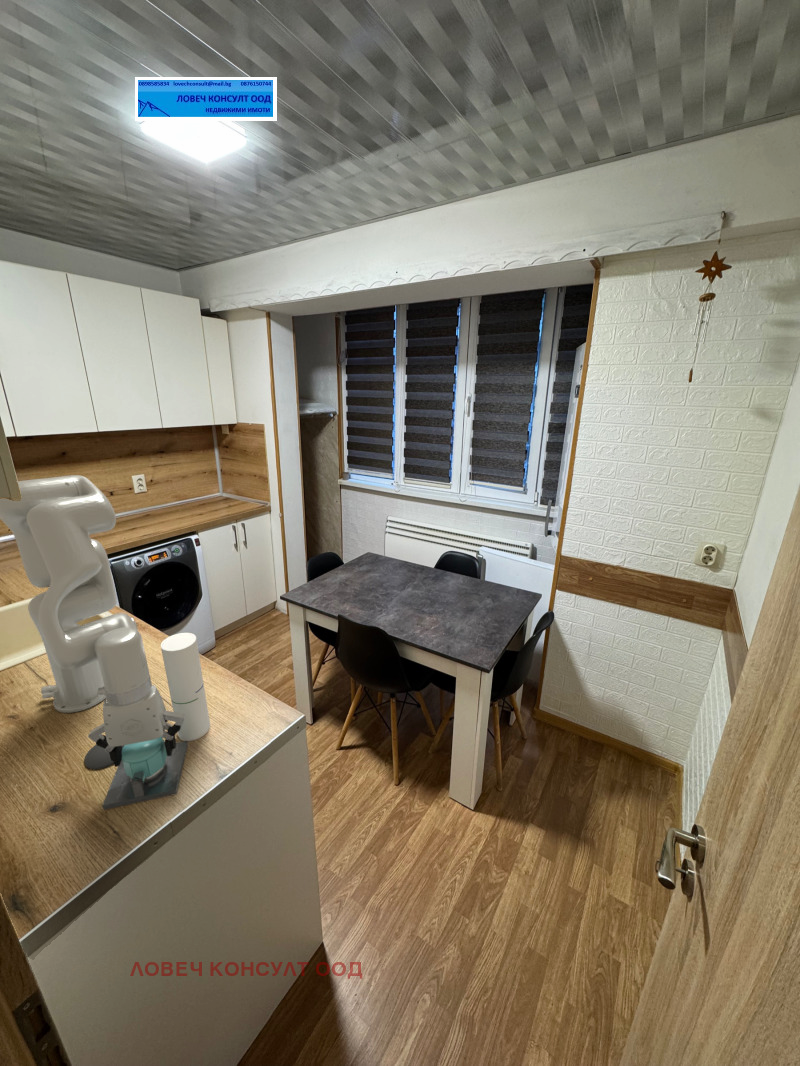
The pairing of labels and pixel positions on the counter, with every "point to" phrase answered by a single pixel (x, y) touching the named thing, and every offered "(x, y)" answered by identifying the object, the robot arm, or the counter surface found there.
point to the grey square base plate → (147, 781)
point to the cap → (144, 757)
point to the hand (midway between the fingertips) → (145, 755)
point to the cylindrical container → (186, 684)
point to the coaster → (98, 758)
